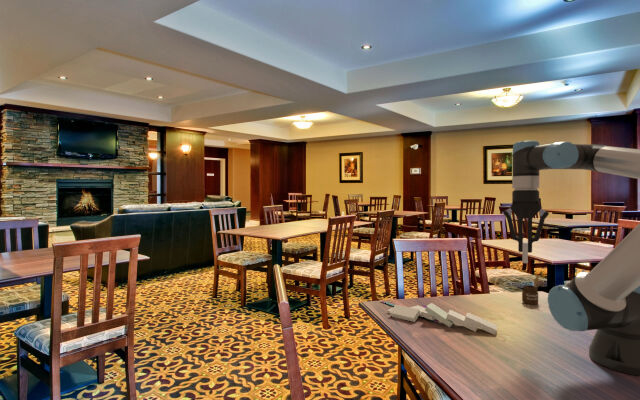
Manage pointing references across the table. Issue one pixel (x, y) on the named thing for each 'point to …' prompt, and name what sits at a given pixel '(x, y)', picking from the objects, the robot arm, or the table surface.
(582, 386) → the table surface
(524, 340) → the table surface
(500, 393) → the table surface
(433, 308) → the domino
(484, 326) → the domino
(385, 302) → the squeegee
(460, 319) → the domino
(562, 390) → the table surface
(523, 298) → the utensil holder
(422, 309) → the domino
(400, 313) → the domino
